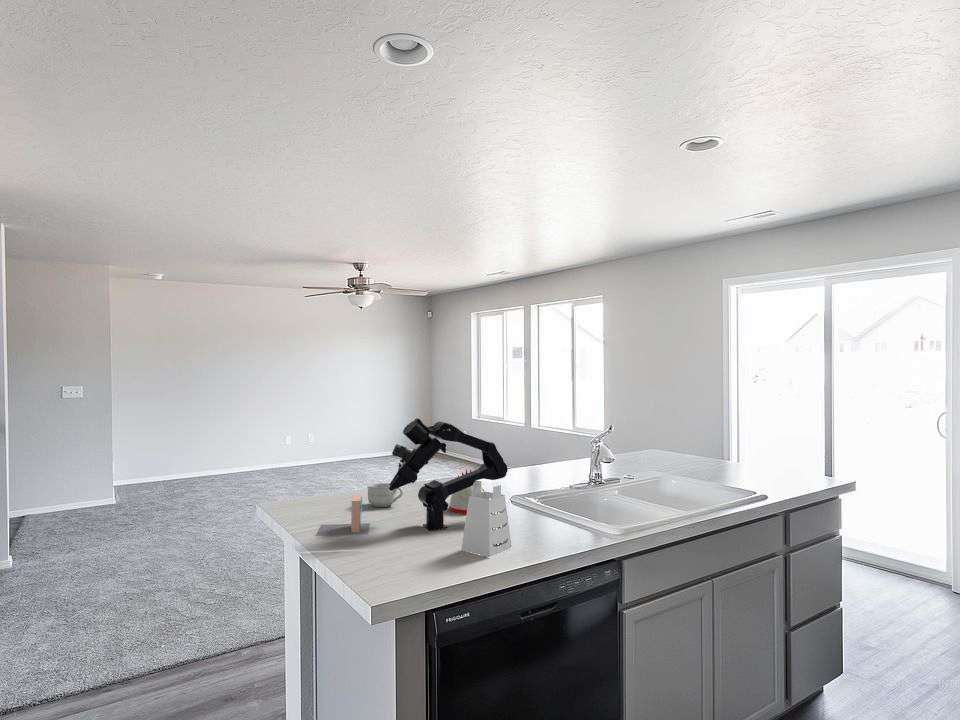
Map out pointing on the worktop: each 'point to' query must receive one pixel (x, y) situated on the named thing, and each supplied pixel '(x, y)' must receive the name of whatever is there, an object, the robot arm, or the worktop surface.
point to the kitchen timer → (461, 499)
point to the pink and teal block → (356, 514)
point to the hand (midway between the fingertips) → (390, 487)
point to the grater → (486, 521)
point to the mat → (341, 529)
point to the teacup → (382, 494)
